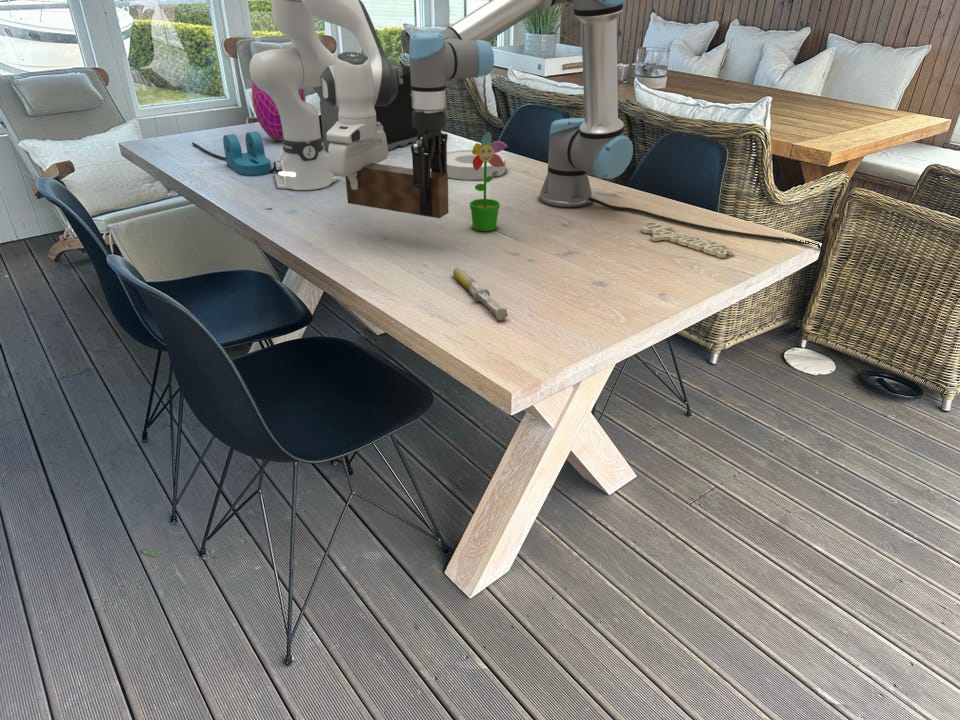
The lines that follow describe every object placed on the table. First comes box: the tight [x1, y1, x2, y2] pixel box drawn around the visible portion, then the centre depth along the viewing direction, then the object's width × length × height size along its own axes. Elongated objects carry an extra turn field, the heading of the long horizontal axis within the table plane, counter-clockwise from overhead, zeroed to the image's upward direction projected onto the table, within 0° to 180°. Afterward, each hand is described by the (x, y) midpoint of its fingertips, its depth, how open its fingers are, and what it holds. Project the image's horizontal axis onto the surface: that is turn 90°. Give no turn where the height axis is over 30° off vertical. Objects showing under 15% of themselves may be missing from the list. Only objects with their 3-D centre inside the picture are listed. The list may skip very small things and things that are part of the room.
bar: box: [344, 163, 450, 219], centre depth 166 cm, size 26×5×10 cm, turn 65°
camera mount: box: [222, 131, 272, 176], centre depth 226 cm, size 18×10×10 cm, turn 35°
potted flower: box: [469, 131, 509, 232], centre depth 175 cm, size 9×8×25 cm
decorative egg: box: [251, 79, 307, 142], centre depth 257 cm, size 19×19×30 cm
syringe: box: [452, 266, 509, 321], centre depth 145 cm, size 25×4×3 cm, turn 21°
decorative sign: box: [641, 221, 733, 259], centre depth 174 cm, size 26×1×10 cm
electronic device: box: [313, 58, 418, 151], centre depth 250 cm, size 37×22×30 cm, turn 144°
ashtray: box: [447, 149, 507, 181], centre depth 229 cm, size 23×23×4 cm
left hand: (362, 185), depth 170 cm, fingers closed on bar, 4 cm apart
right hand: (431, 211), depth 164 cm, fingers closed on bar, 5 cm apart
